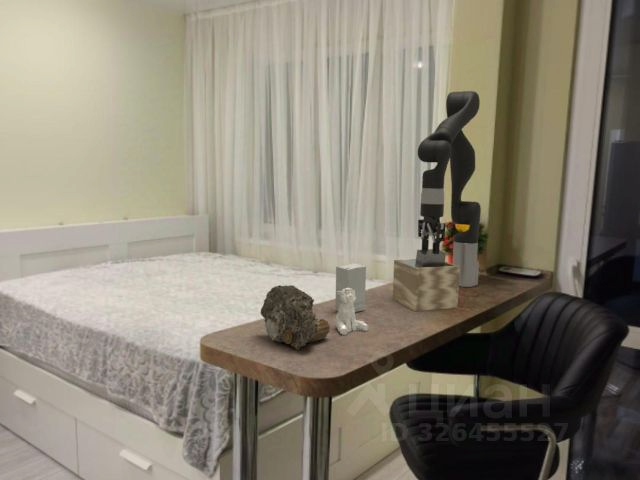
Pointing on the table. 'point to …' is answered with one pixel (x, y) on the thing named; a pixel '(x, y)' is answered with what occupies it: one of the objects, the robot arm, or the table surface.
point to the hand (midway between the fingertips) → (430, 252)
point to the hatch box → (426, 286)
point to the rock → (292, 317)
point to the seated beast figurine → (348, 313)
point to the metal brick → (429, 259)
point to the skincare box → (351, 283)
